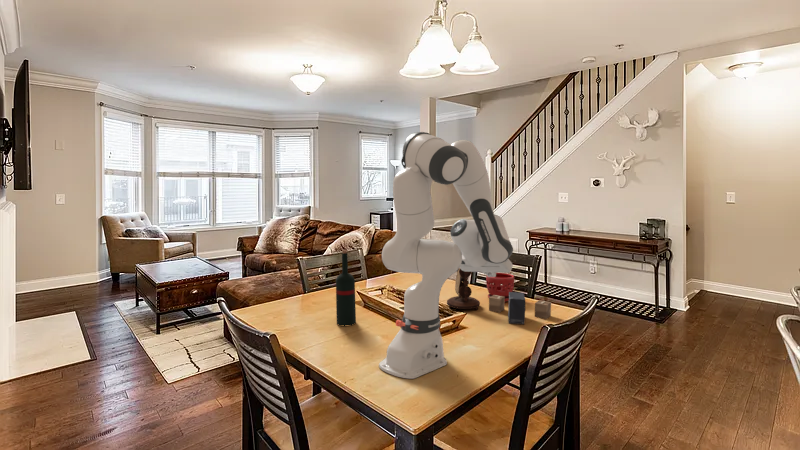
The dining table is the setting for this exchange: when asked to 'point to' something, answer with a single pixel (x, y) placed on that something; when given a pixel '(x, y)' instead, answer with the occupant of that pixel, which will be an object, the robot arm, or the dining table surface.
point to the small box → (516, 308)
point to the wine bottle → (345, 295)
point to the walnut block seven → (496, 303)
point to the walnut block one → (543, 309)
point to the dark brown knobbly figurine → (463, 293)
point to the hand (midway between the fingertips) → (492, 275)
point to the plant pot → (496, 286)
